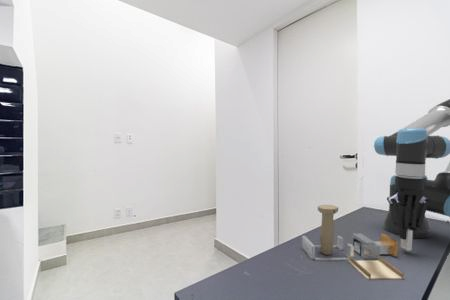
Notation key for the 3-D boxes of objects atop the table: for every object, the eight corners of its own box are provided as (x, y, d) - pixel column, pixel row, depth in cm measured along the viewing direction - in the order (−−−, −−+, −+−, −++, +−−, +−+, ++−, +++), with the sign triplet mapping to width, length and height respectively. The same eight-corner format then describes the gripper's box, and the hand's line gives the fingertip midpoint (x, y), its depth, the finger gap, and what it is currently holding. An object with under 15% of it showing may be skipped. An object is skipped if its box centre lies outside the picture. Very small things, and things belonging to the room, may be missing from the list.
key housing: (364, 248, 80) (365, 233, 80) (379, 258, 73) (380, 242, 72) (350, 248, 80) (351, 233, 79) (363, 258, 72) (364, 242, 72)
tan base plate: (380, 261, 71) (381, 256, 71) (404, 279, 62) (405, 273, 62) (348, 261, 70) (348, 256, 70) (367, 279, 61) (367, 273, 61)
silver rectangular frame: (338, 246, 80) (339, 235, 80) (354, 260, 71) (355, 247, 71) (301, 246, 80) (301, 235, 80) (312, 260, 71) (312, 247, 71)
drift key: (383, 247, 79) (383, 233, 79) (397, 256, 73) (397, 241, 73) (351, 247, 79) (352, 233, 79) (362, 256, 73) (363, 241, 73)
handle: (339, 254, 75) (341, 207, 74) (325, 258, 72) (326, 210, 72) (327, 248, 79) (329, 204, 79) (313, 251, 77) (314, 205, 76)
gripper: (419, 175, 80) (415, 243, 81) (381, 174, 79) (378, 243, 80) (440, 178, 72) (436, 254, 73) (399, 178, 72) (395, 254, 73)
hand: (406, 248), depth 77 cm, fingers closed
